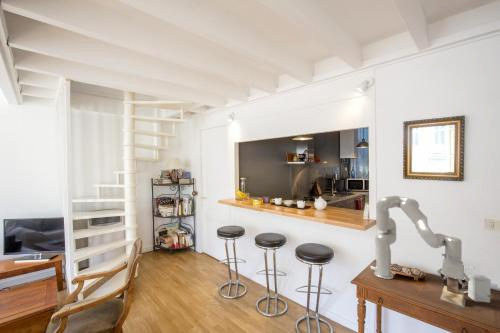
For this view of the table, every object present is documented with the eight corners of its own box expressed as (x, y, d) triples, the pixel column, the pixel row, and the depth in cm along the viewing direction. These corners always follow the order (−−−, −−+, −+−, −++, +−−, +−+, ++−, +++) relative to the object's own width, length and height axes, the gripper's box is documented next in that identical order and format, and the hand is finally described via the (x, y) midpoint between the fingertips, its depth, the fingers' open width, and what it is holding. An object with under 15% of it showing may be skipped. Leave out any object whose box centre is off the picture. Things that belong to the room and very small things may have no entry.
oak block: (442, 299, 142) (442, 290, 142) (444, 293, 148) (444, 285, 148) (462, 305, 135) (462, 296, 135) (463, 299, 142) (463, 291, 142)
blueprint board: (430, 298, 144) (430, 296, 144) (434, 290, 154) (434, 288, 154) (475, 313, 130) (475, 311, 130) (476, 303, 139) (476, 301, 139)
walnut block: (446, 290, 142) (446, 279, 142) (448, 288, 145) (448, 276, 145) (457, 294, 138) (457, 282, 138) (458, 291, 142) (458, 279, 142)
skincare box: (474, 302, 140) (475, 278, 140) (467, 297, 146) (467, 273, 146) (491, 304, 138) (491, 279, 138) (482, 298, 144) (483, 274, 144)
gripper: (434, 255, 145) (434, 284, 145) (472, 264, 133) (471, 295, 133) (436, 252, 150) (436, 280, 150) (473, 260, 138) (472, 290, 138)
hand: (452, 287), depth 142 cm, fingers open, 5 cm apart
